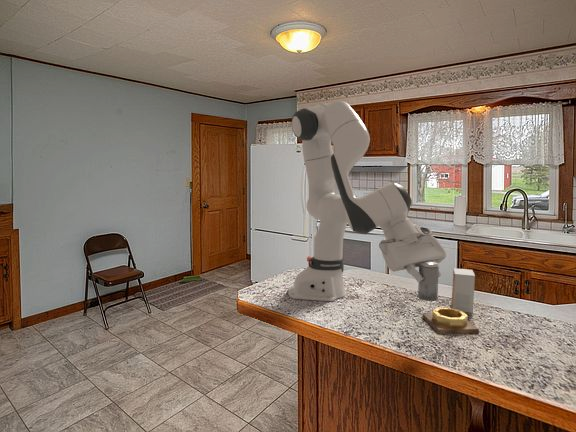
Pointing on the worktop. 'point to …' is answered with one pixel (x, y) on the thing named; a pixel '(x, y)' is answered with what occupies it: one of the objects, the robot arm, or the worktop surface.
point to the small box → (463, 290)
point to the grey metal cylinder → (428, 281)
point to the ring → (444, 316)
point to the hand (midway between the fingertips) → (429, 278)
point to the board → (445, 329)
